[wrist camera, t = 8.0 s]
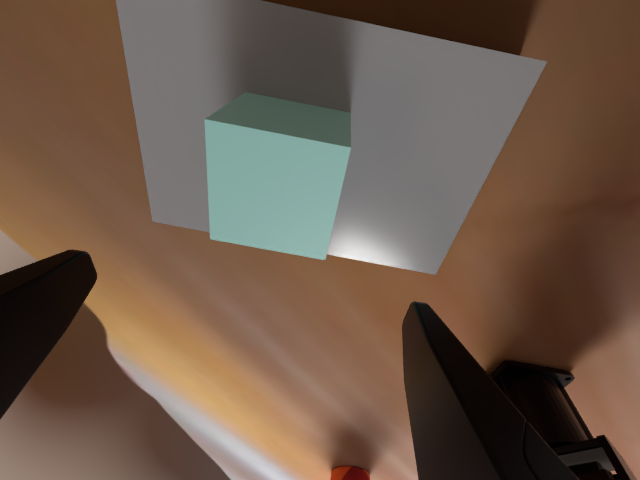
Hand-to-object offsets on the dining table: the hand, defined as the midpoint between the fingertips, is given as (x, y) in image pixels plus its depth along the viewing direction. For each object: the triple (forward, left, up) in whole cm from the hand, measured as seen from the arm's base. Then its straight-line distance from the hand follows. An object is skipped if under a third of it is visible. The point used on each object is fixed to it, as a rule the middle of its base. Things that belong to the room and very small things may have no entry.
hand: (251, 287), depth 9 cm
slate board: (-1, -1, -12) cm, 12 cm away
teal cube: (0, -1, -9) cm, 9 cm away
